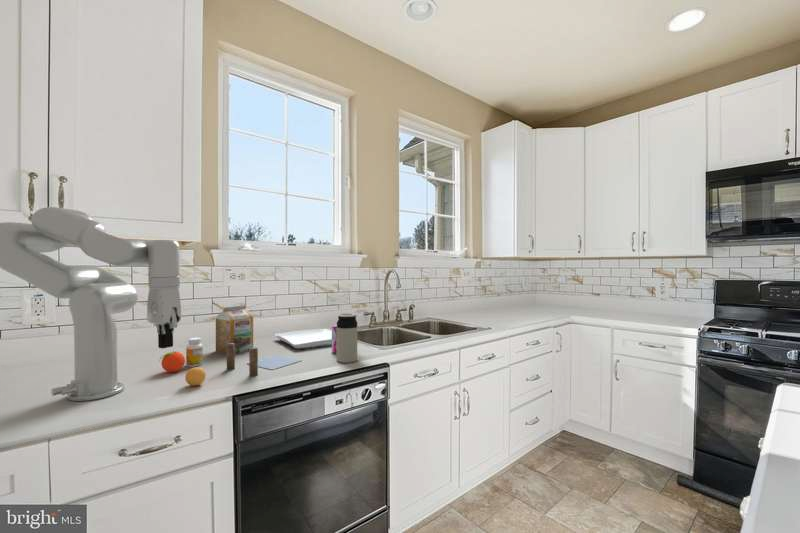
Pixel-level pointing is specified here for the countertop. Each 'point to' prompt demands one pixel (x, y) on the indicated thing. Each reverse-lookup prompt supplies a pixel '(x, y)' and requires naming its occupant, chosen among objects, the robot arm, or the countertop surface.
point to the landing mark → (276, 362)
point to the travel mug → (346, 337)
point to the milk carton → (234, 329)
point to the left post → (230, 356)
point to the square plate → (307, 338)
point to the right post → (253, 361)
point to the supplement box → (334, 339)
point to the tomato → (172, 361)
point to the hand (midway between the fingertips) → (165, 347)
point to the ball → (195, 376)
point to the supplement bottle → (194, 352)
